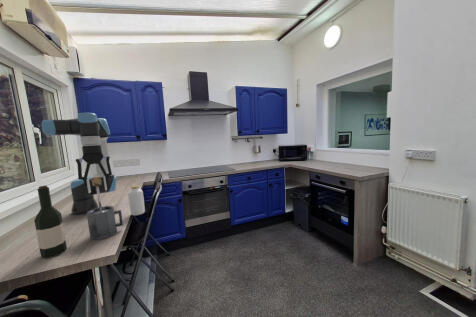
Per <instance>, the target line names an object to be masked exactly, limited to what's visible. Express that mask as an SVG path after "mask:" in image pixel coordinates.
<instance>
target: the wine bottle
mask: <svg viewBox="0 0 476 317" xmlns="http://www.w3.org/2000/svg"><path fill="white" fill-rule="evenodd" d="M37 193H38V199H39V205H40V209H39V211H38V213H37V214H36V216H35V218H34V221H33V222H34V226H35V231H36V236H37V242H38V248H39V254H40V258H41V259H46V260H47V259H50V258H54V257H58V256H60V255H61V254H63V253H65V252H66V250H67V249H68V247H67V246H68V245H67V242H66V241H67V240H66V234H65V228H64V222H63V216H62V213H61V211H59V210H58V209H57V208H55V206H53V204H52V198H51V193H50V187H48V185H40V186H38V188H37Z"/></svg>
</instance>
